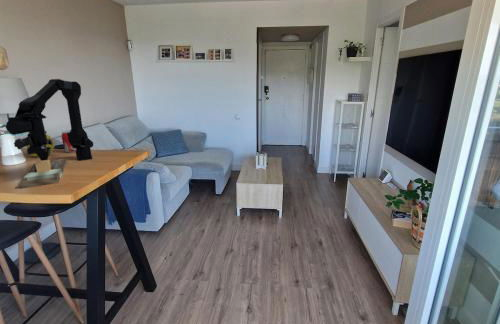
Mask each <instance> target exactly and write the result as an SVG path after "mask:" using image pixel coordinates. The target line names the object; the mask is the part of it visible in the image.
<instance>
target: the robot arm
mask: <svg viewBox="0 0 500 324" xmlns="http://www.w3.org/2000/svg"><path fill="white" fill-rule="evenodd" d="M58 91H61V94H62V96H63V97H64V98H65V100H66V103H67V110H68V116H69V123H70V127H71V129H70V130H69V131H70V132H68V133H67V136H68V141H69V143H70V144H71V146H72V147H73V148H76V152H75V156H76V159H77V161H83V160H84V161H85V160H92V159H93V155H92V154H93V153H92V149H91V148H93V147H94V142H93V141H92V139H89V136H88V133H87V131H85V129H84V128H83V121H82V115H81V108H80V103H79V99H80V97H81V95H82V87H81V84H80V83H79V82H77V81H76V80H75V81H71V80H70V81H68V80H64V79H60V78H52V79H49V80H48V82H47V83H46V84H45V85H44V86H43V87H42V88H41V89H40V90H38V91H37V92H36V93H35V94H34V95H32V96H29V97H27V98H24V99H22V100H20V102H19V103H18V108H17V110H16V113H15V115H14V116H11V117H10V116H9V117H8V118H7V119H8V121H7V122H6V124H5V128H6V130H7V132H8V133H9V134H10V135H14V136H16V135H20V134H26V133H27V134H26V135H27V136H26V137H23V138H18V139H15V140H14V142H13V144H14V145H13V146H14V147H15V148H17V149H18V150H21V149H23V148H25V147H27V146H28V145H30V147H29V148H27V149H26V152H27V154H28V155H30V154H37V155H38V158H39V161H42V160H49V156H50V154H51V152H50V149H51V147H47V144H50V145H52V144H53V142H52V140H51V139H47V137H46V134H47V133H48V132H47V130H46V129H45V125H44V120H43V119H47V116H46V115H44V114H42V113H43V112H44V110H45V108H46V103H47V102H48V101H49V100H50V99H51V98H52V97H53V96H54V95H55V94H56V93H57V92H58Z"/></svg>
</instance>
